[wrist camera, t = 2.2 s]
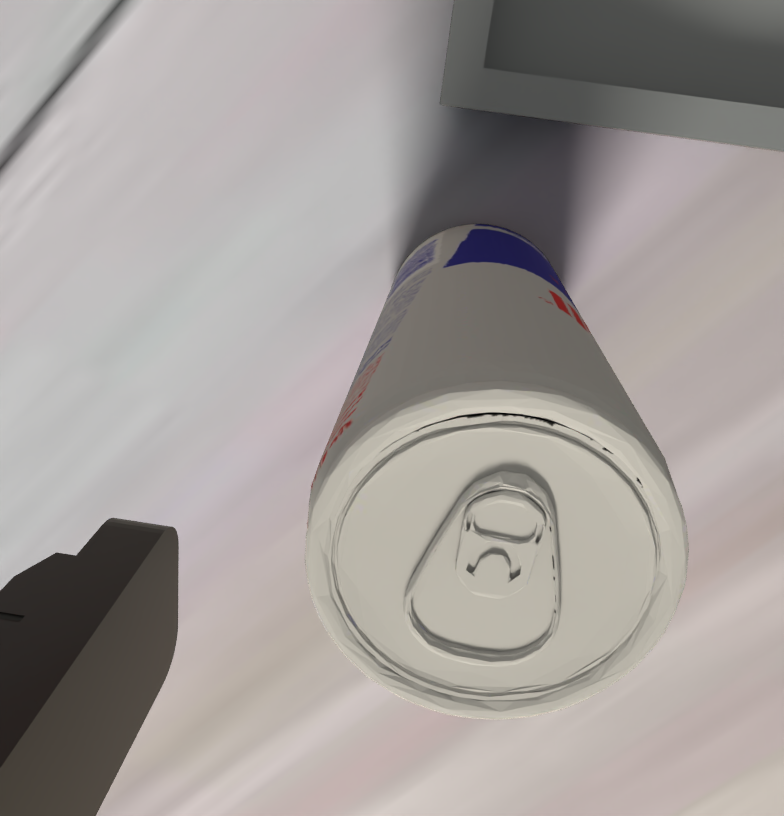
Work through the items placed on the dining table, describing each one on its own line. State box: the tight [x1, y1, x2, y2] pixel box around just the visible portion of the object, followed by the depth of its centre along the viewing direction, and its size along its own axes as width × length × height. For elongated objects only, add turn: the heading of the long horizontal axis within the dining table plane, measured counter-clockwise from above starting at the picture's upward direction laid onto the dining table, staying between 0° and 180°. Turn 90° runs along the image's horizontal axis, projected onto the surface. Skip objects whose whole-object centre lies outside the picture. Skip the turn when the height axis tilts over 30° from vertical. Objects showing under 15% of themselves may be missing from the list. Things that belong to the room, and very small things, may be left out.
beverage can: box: [305, 224, 689, 720], centre depth 17 cm, size 6×6×15 cm
